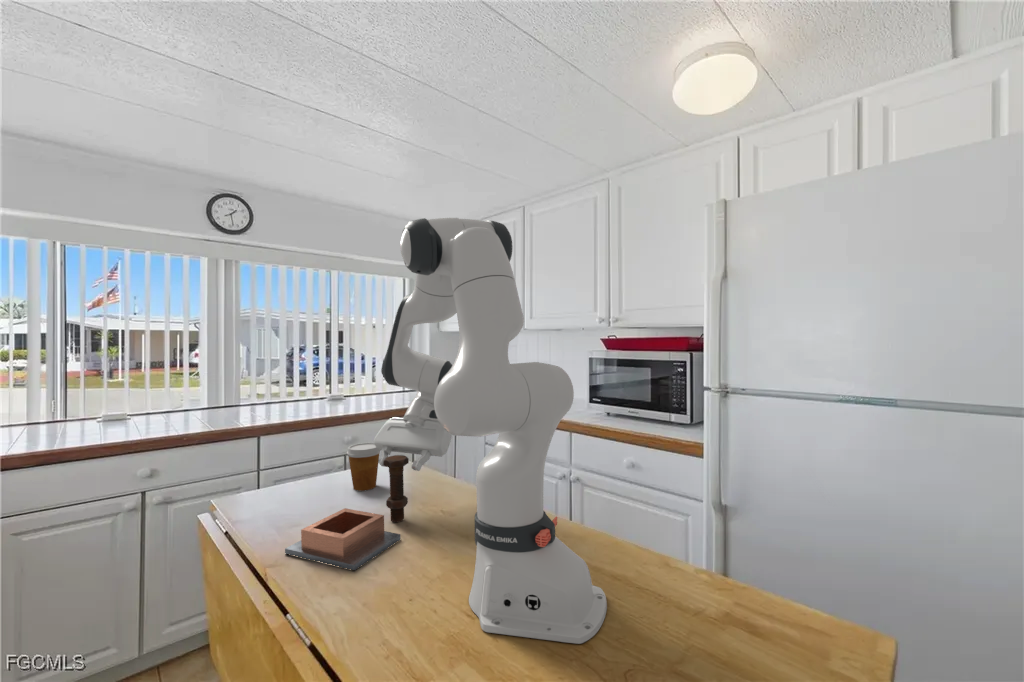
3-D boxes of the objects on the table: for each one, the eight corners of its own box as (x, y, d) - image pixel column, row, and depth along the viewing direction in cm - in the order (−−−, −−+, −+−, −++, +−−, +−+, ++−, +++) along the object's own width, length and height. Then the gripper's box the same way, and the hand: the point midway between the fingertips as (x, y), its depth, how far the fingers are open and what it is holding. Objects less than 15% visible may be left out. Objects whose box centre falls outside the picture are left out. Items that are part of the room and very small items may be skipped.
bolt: (402, 526, 105) (400, 461, 105) (381, 525, 106) (380, 460, 106) (412, 516, 111) (411, 455, 110) (393, 515, 112) (391, 454, 111)
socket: (400, 539, 98) (400, 515, 98) (354, 571, 85) (353, 543, 85) (336, 526, 105) (336, 504, 105) (285, 554, 92) (284, 529, 92)
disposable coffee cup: (349, 495, 126) (347, 452, 126) (346, 485, 135) (345, 444, 135) (384, 489, 130) (383, 447, 130) (379, 480, 139) (378, 441, 139)
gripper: (383, 410, 120) (358, 456, 111) (450, 414, 111) (428, 464, 103) (394, 423, 124) (371, 469, 115) (460, 428, 116) (439, 478, 107)
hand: (398, 467), depth 109 cm, fingers open, 8 cm apart
